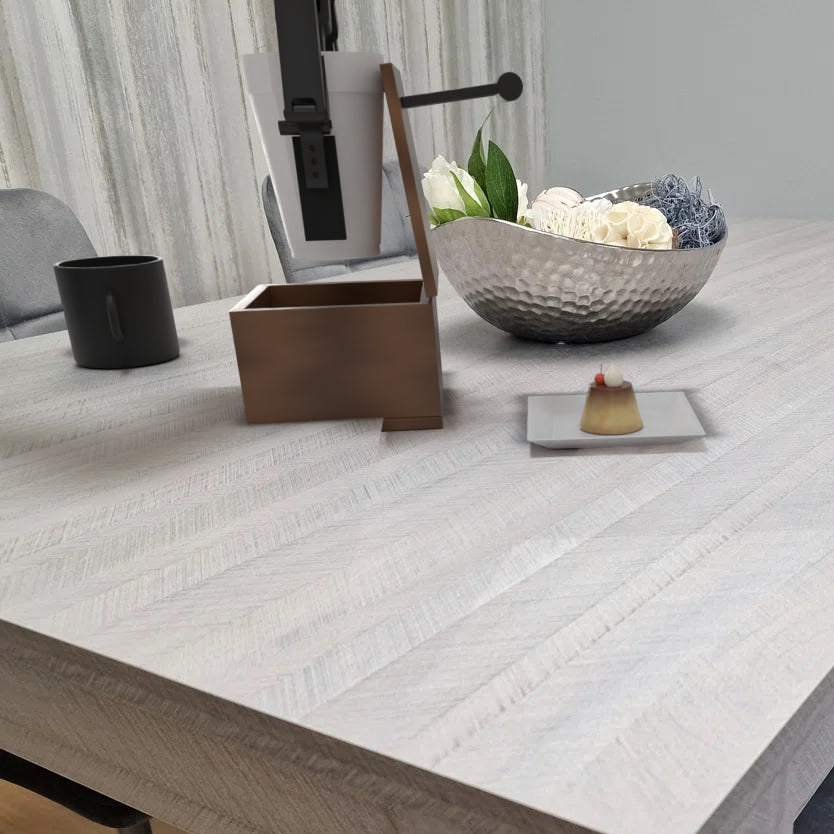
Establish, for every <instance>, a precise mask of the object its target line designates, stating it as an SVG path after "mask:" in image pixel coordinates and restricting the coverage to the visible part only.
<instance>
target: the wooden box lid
mask: <svg viewBox="0 0 834 834" xmlns="http://www.w3.org/2000/svg"><path fill="white" fill-rule="evenodd" d="M379 66H380V70H381V75H382V80H383V85H384V90H385V93H384V96H385V101H386V105H387V110H388V114H389V121H390V124H391V125H390V126H391V130H392V134H393V135H392V136H393V139H394V144H395V149H396V154H397V155H396V156H397V160H398V164H399V170H400V175H401V179H402V185H403V188H404V195H405V199H406V204H407V208H408V209H407V210H408V214H409V218H410V223H411V228H412V234H413V239H414V244H415V248H416V253H417V259H418V263H419V268H420V273H421V279H423V283H424V288H425V293H426V297H427V298H429V297H435V296H436V297H438V295H439V275H440V274H439V273H440V271H439V264H438V260H437V254H436V249H435V244H434V239H433V233H432V229H431V222H430V218H429V213H428V208H427V202H426V198H425V193H424V187H423V183H422V176H421V172H420V167H419V162H418V161H419V160H418V156H417V152H416V147H415V141H414V136H413V132H412V125H411V120H410V116H409V110H408V109H415V108H422V107H428V106H435V105H442V104H447V103H455V102H463V101H467V100H469V101H470V100H475V99H482V98H488V97H495V98H496V99H497V100H498V101H500V102H502V103H511V102H515V101H517V100H518V99H520V98H521V96H522V94H523V92H524V82H523V80H522V78H521V77H520V76H519V74H517V73H516V72H513V71H506V72H503V73H501V75H499V76H498V77H497V78H496V79H495V80H494V82H493V83H492V82H491V83H485V84H479V85H471V86H465V87H458V88H451V89H444V90H437V91H431V92H424V93H418V94H412V95H406V94H405V89H404V84H403V80H402V75H401V71H400V69H399V68H398V67H397V66H396V65H395V64H394V63H393V62H391V61H390V62H384V63H383V64H380V65H379Z"/></svg>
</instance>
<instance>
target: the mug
mask: <svg viewBox="0 0 834 834" xmlns="http://www.w3.org/2000/svg"><path fill="white" fill-rule="evenodd" d="M52 268H53V273H54V276H55V281H56V285H57V290H58V294H59V298H60V304H61V307H62V310H63V316H64V320H65V324H66V328H67V333H68V337H69V343H70V346H71V350H72V355H73V360H74V361H75V363H76V364H77V365H79V366H81V367H85V368H90V369H100V370H107V369H108V370H111V369H112V370H115V369H129V368H130V369H131V368H139V367H145V366H151V365H156V364H160V363H161V364H162V363H164V362H168V361H170V360H172V359H175V358H176V357H178V356H179V355H180V352H181V348H180V342H179V337H178V332H177V326H176V322H175V316H174V309H173V305H172V299H171V293H170V288H169V284H168V278H167V277H168V276H167V273H166V268H165V262H164V259H163V257H161V256H157V255H148V254H147V255H146V254H144V255H143V254H119V255H118V254H117V255H102V256H91V257H90V256H89V257H80V258H74V259H68V260H62V261H59V262H56V263H54V264H53V267H52Z"/></svg>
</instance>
